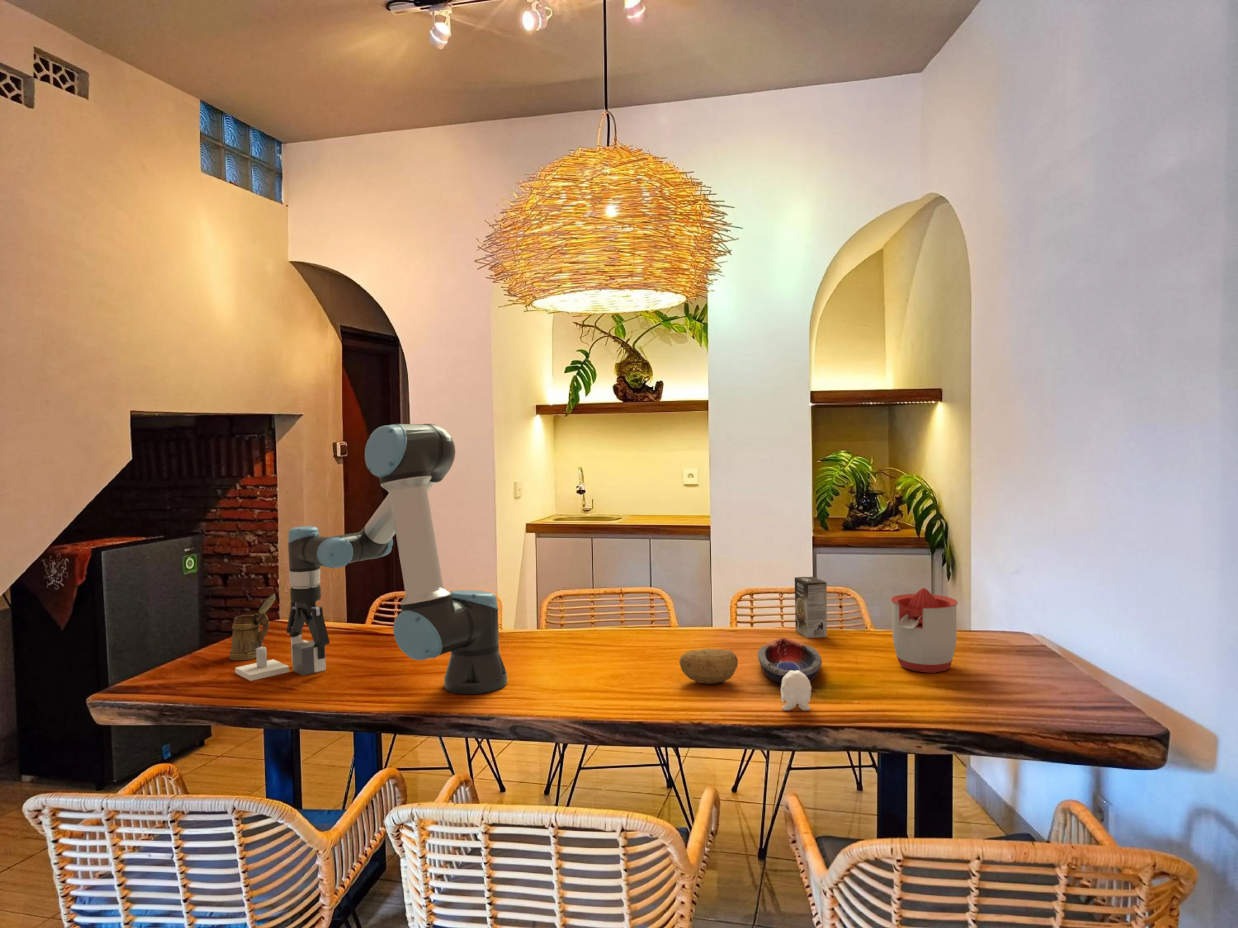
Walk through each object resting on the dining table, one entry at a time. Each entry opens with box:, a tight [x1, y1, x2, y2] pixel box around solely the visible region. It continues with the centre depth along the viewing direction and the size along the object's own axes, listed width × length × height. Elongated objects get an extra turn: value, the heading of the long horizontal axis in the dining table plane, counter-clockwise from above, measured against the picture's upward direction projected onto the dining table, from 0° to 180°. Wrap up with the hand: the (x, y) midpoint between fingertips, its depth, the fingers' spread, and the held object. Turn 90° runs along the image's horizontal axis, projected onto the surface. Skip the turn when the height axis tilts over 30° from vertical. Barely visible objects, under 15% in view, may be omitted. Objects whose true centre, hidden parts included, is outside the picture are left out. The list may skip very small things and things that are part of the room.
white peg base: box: [234, 646, 290, 682], centre depth 217 cm, size 10×10×6 cm
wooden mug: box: [229, 592, 277, 661], centre depth 233 cm, size 9×14×18 cm, turn 84°
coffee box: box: [794, 576, 828, 639], centre depth 242 cm, size 9×6×16 cm
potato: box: [678, 648, 739, 685], centre depth 199 cm, size 10×14×8 cm
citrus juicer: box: [890, 587, 958, 674], centre depth 206 cm, size 16×17×20 cm
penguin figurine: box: [780, 670, 812, 711], centre depth 182 cm, size 6×8×12 cm
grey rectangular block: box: [291, 639, 325, 676], centre depth 217 cm, size 6×6×8 cm
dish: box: [757, 637, 823, 684], centre depth 207 cm, size 16×31×5 cm, turn 171°
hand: (308, 665), depth 218 cm, fingers open, 13 cm apart
